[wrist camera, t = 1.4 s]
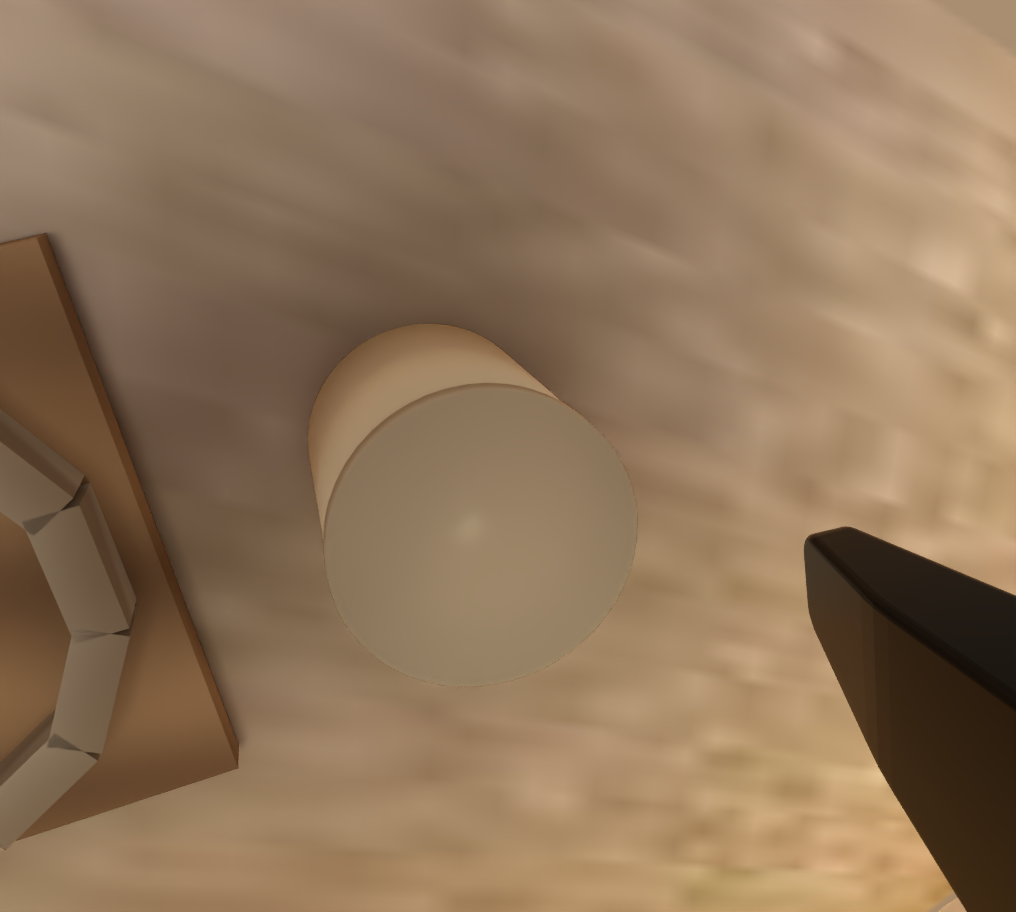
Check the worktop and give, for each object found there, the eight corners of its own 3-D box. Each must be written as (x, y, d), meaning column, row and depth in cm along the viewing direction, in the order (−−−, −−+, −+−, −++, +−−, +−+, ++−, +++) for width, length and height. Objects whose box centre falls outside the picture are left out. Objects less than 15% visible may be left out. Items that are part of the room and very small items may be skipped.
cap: (559, 511, 26) (658, 633, 20) (342, 576, 25) (372, 726, 19) (515, 294, 24) (610, 353, 18) (275, 357, 23) (283, 442, 17)
